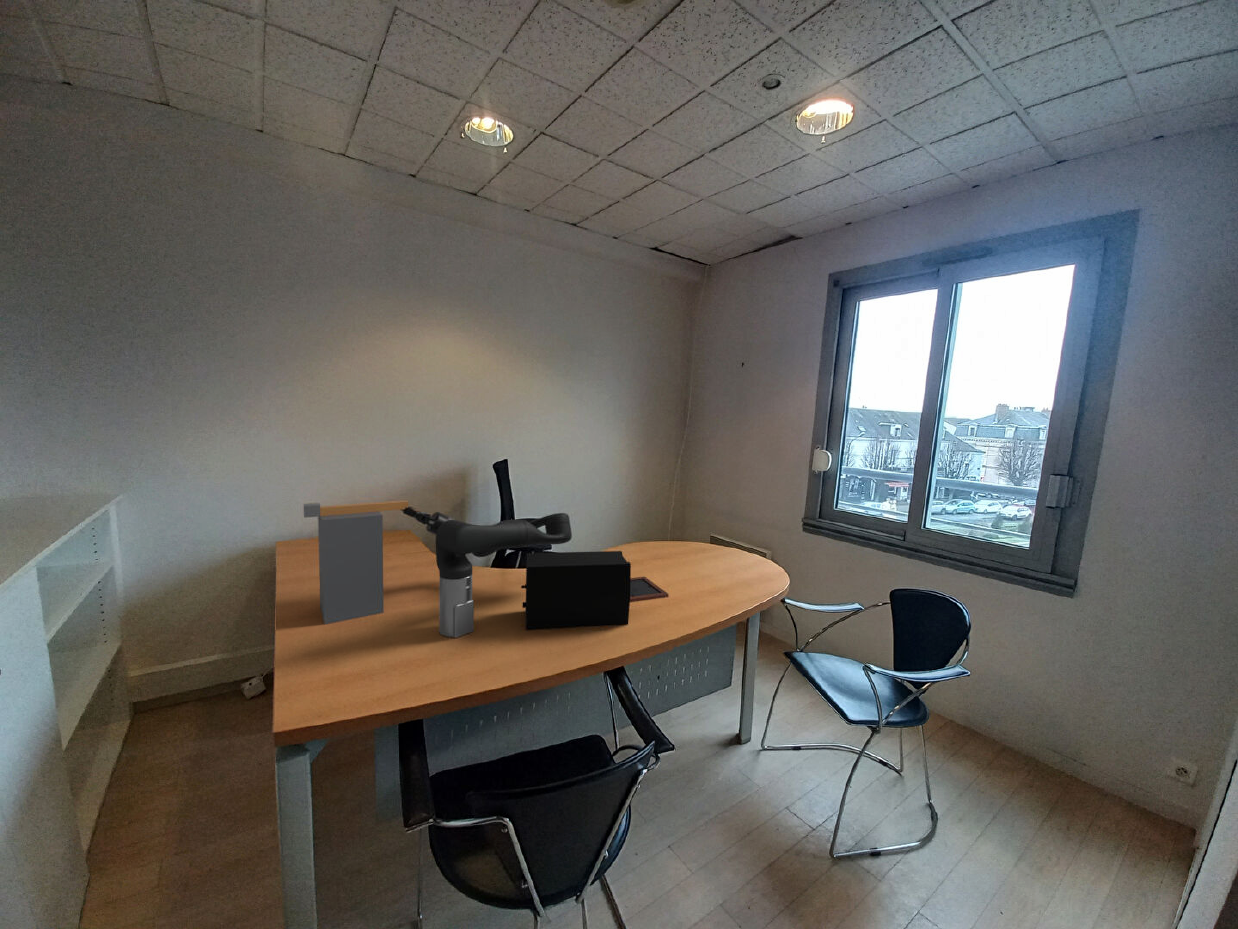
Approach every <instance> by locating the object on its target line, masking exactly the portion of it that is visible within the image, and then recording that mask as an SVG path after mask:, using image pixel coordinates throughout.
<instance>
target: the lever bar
mask: <svg viewBox="0 0 1238 929" xmlns="http://www.w3.org/2000/svg"><path fill="white" fill-rule="evenodd" d="M408 506H409V501H408V500H393V501H379V502H378V501H377V502H365V503H364V502H363V503H361V502H360V503H349V504H348V503H347V504H333V505H321V504H320V502H314V503H303V517H304V518H318V517H319V516H327V515H340V514H352V513H365V512H377V511H379V512H387V511H389V512H390V511H401V510H402V509H405V508H406V507H407V508H408Z"/></svg>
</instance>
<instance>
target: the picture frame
mask: <svg viewBox="0 0 1238 929" xmlns="http://www.w3.org/2000/svg"><path fill="white" fill-rule="evenodd" d="M669 597H670V596H669V593H668V592H666V590H664V589H662V588H661V587H659V586H658V585H657V584H656V583H654V582H653V581H651V580H650V579H649V578H647V577H646V576H637V577H631V583H630V603H632V602H633V603H634V602H641V601H648V600H650V601H651V600H656V599H657V600H658V599H664V598H669Z"/></svg>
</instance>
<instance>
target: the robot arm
mask: <svg viewBox="0 0 1238 929" xmlns="http://www.w3.org/2000/svg"><path fill="white" fill-rule="evenodd" d="M400 511H402V514H404V515H407V517H408V516H409V517H411V518H413V519H414V520H415V521H417V522H418V523H420V524H422V525H424V526H425V525H426V528H425V529H426V531H427V532H428V533H431V534H433V535H435V557H436V558H435V559H436V560H435V561H436V562H435V563H436V566H437V568H438V572H439V586H438V588H439V592H438V594H439V595H438V596H439V603H438V604H439V605H438V606H439V611H438V612H439V613H438V614H439V618H438V619H439V620H438V621H439V622H438V623H439V624H438V625H439V626H438V627H439V634H440V635H441V636H444V637H448V638H451V637H452V638H454V639H456V638H459V637H462V636H464V635H467V634H469V633H472V632H474V628H475V627H474V626H475V625H474V616H475V614H474V613H475V612H474V608H475V607H474V606H475V605H474V604H475V603H474V600H473V564H472V563H471V561H470V560H469V559H468V557H467V555H469V554H472V555H473V556H475V557H476V558H485V557H488V556H490V555H492V554H494V553H496V552H498V551H500V550H502V549H515V548H523V547H530V546H543V545H545V546H546V545H562V544H565V543H569V542H570V541H571V540H572V536H573V534H572V528H571V522H570V521H571V520H570V516H569V514H568V513H565V512H559V513H557V512H556V513H552V514H549V515H545V516H542V517H539V518H536V519H534V520H530V521H527V520H525V519H505V520H501V521H499V522H496V523H495V524H492V525H480V524H479V525H478V524H472V523H468V522H463V521H460V520H457V519H454V518H452V517H450V516H447V515H446V514H444V513H441V512H439V511H436V512H434V513H432V515H431V513H428V512H427V511H423V510H421V509H419V508H414V507H413V506H409V505H408V508H407V507H406V508H405V509H402V510H400ZM542 527H545V532H544V531H541V530H540V528H542Z"/></svg>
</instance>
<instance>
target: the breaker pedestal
mask: <svg viewBox="0 0 1238 929" xmlns="http://www.w3.org/2000/svg"><path fill="white" fill-rule="evenodd" d="M383 521H384V520H383V514H382V513H381V511H377V512H365V513H352V514H340V515H327V516H319V517H317V524H318V525H317V526H318V527H317V528H318V531H317V532H318V562H319V563H318V564H319V565H318V566H319V567H318V569H319V570H318V571H319V605H320V611H321V615H322V619H323V623H324V625H328V624H333V623H338V622H344V621H348V620H353V619H358V618H362V617H368V616H373V615H378V614H383V613H384V612H385V611H384V606H385V605H384V530H383V528H384V527H383V526H384V525H383V524H384V522H383Z"/></svg>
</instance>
